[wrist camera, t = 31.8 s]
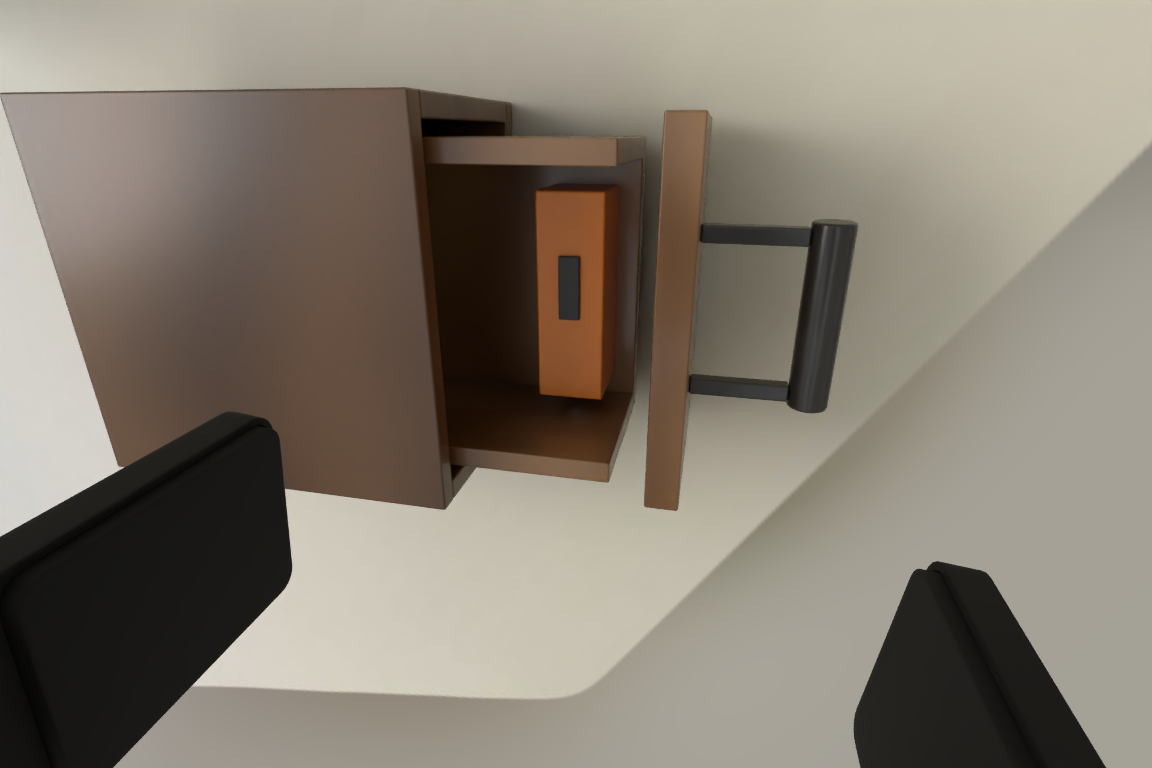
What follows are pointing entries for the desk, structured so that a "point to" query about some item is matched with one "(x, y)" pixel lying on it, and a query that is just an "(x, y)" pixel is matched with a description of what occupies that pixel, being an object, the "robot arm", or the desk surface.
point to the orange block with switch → (576, 287)
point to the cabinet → (257, 269)
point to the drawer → (510, 314)
